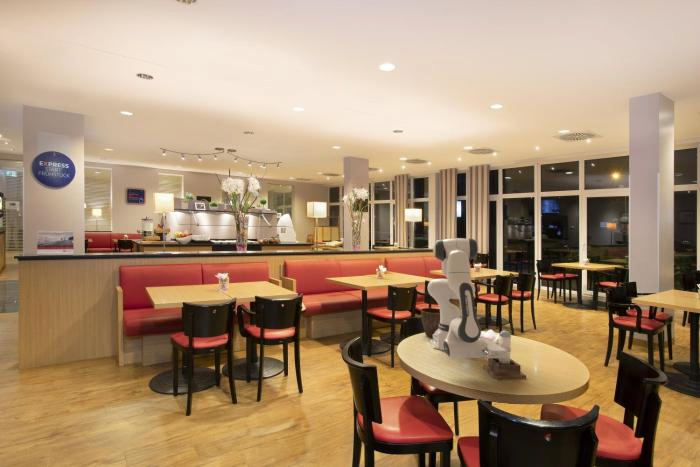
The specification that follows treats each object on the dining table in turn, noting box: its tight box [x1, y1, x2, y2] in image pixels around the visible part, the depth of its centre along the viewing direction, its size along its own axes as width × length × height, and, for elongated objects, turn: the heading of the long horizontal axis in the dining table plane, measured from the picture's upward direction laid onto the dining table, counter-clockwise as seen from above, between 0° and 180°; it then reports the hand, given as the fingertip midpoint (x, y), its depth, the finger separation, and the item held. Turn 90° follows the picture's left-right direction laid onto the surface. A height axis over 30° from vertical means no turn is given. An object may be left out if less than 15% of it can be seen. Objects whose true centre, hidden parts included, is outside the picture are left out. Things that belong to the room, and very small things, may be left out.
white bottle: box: [498, 329, 512, 365], centre depth 184 cm, size 5×5×16 cm
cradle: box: [482, 357, 527, 381], centre depth 184 cm, size 14×14×6 cm
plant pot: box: [420, 307, 440, 338], centre depth 244 cm, size 15×15×16 cm
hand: (506, 347), depth 184 cm, fingers closed on white bottle, 5 cm apart
